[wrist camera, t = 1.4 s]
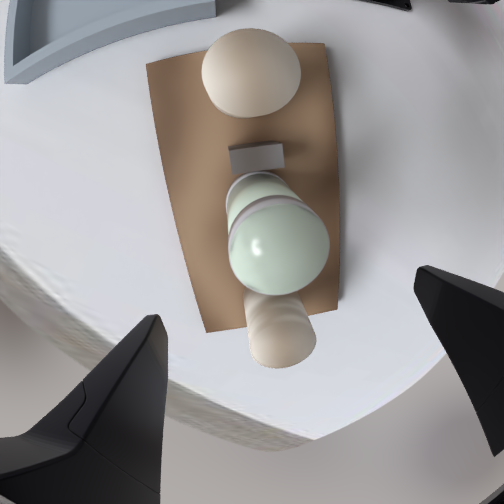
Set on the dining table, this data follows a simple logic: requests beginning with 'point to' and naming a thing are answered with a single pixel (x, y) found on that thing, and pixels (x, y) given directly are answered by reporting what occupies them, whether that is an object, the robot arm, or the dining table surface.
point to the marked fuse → (273, 235)
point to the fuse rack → (249, 160)
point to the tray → (82, 29)
